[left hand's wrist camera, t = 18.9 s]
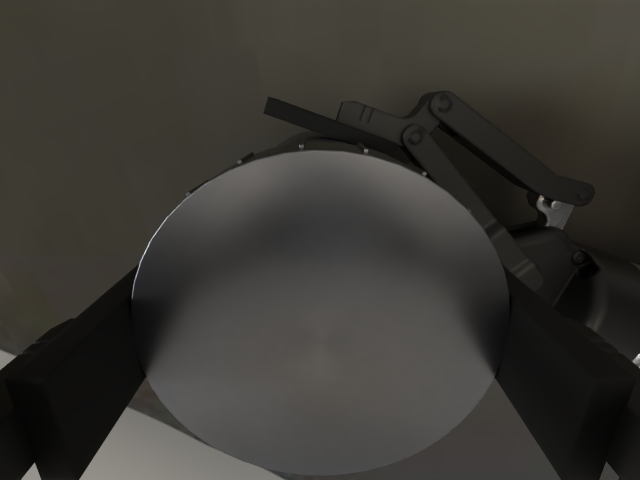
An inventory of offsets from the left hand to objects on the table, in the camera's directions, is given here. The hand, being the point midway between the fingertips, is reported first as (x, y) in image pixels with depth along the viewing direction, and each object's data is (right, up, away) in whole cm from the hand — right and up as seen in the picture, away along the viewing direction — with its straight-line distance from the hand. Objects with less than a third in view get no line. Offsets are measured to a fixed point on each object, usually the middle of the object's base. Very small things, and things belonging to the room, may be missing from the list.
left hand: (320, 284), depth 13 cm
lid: (0, -1, -3) cm, 3 cm away
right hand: (-4, +4, +6) cm, 8 cm away
